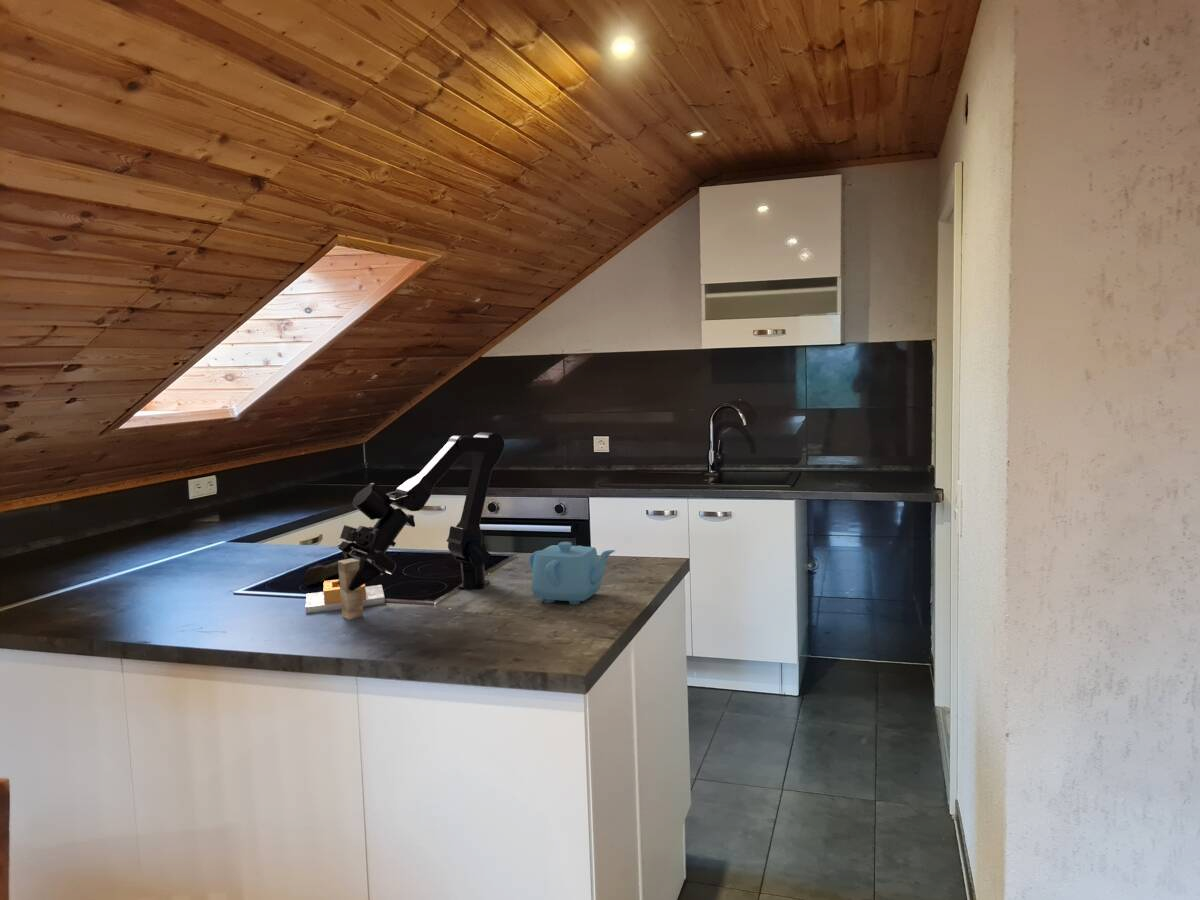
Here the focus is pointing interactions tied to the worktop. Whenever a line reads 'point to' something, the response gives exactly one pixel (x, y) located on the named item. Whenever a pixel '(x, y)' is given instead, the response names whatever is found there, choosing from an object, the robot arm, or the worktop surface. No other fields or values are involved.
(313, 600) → the bracket plate
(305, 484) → the worktop surface
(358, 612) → the tan block
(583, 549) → the teapot
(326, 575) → the hand tool
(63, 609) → the worktop surface
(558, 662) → the worktop surface
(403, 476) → the worktop surface
